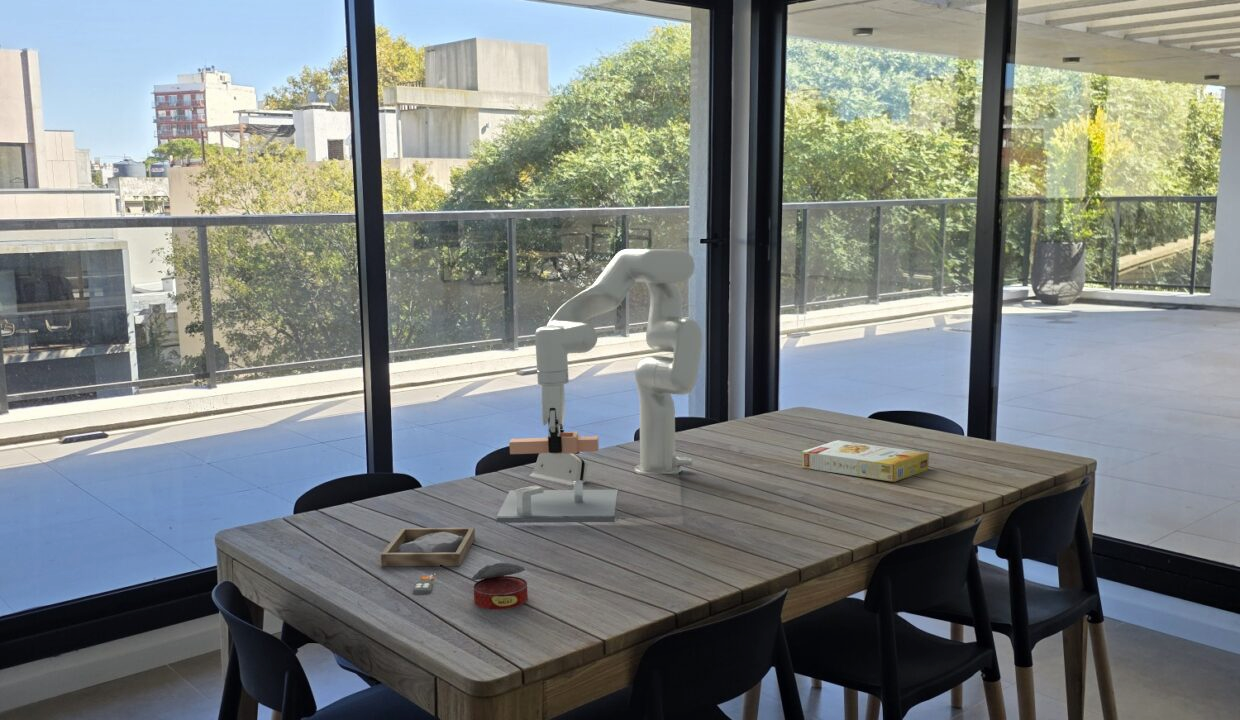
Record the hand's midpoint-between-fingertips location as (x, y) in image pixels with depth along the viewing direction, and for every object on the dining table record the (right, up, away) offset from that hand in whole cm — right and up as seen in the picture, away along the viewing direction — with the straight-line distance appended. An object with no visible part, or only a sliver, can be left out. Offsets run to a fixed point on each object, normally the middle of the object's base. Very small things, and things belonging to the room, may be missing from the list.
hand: (556, 448), depth 264 cm
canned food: (-6, -23, -66) cm, 70 cm away
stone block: (-24, -19, -38) cm, 49 cm away
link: (-1, -1, 0) cm, 1 cm away
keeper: (-5, -15, -14) cm, 22 cm away
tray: (-25, -19, -37) cm, 49 cm away
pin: (+6, -14, -6) cm, 16 cm away
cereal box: (+82, -8, +28) cm, 87 cm away
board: (+1, -14, -6) cm, 15 cm away
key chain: (-22, -22, -56) cm, 64 cm away
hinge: (0, -11, +17) cm, 20 cm away
